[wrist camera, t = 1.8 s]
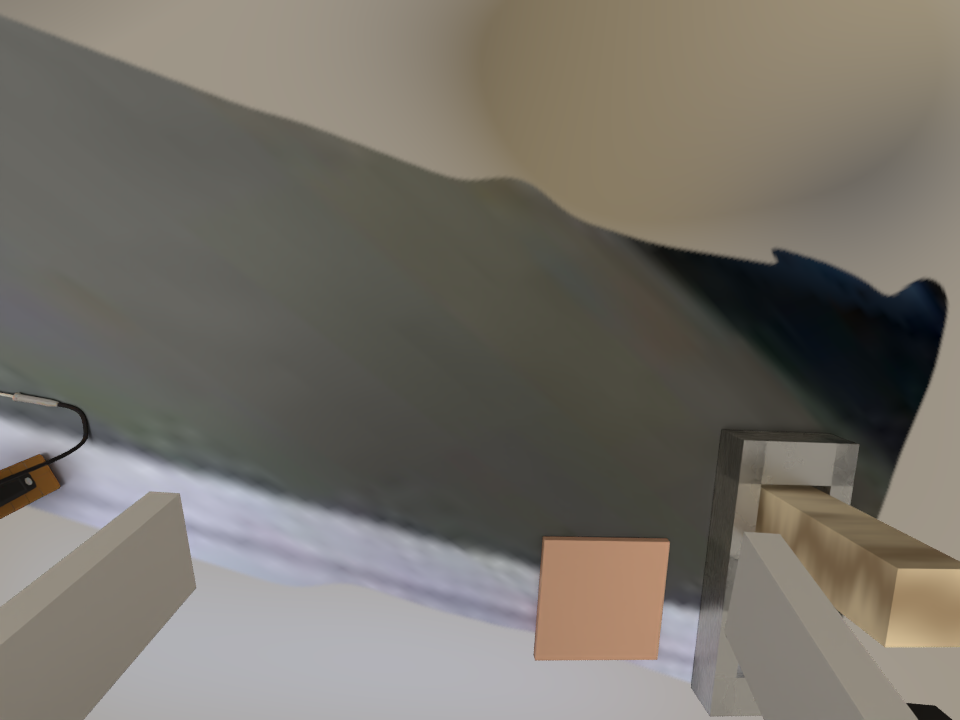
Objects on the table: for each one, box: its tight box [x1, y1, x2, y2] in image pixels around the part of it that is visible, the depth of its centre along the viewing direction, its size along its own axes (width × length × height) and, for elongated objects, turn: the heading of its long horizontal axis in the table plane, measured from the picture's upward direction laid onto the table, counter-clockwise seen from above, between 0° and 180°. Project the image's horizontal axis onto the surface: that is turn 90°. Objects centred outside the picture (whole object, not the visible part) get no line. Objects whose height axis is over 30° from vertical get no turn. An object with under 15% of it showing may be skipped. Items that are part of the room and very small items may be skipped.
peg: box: [755, 484, 960, 647], centre depth 35 cm, size 4×4×14 cm
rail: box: [691, 430, 859, 716], centre depth 41 cm, size 22×9×3 cm, turn 177°
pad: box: [534, 536, 670, 660], centre depth 41 cm, size 10×10×1 cm
